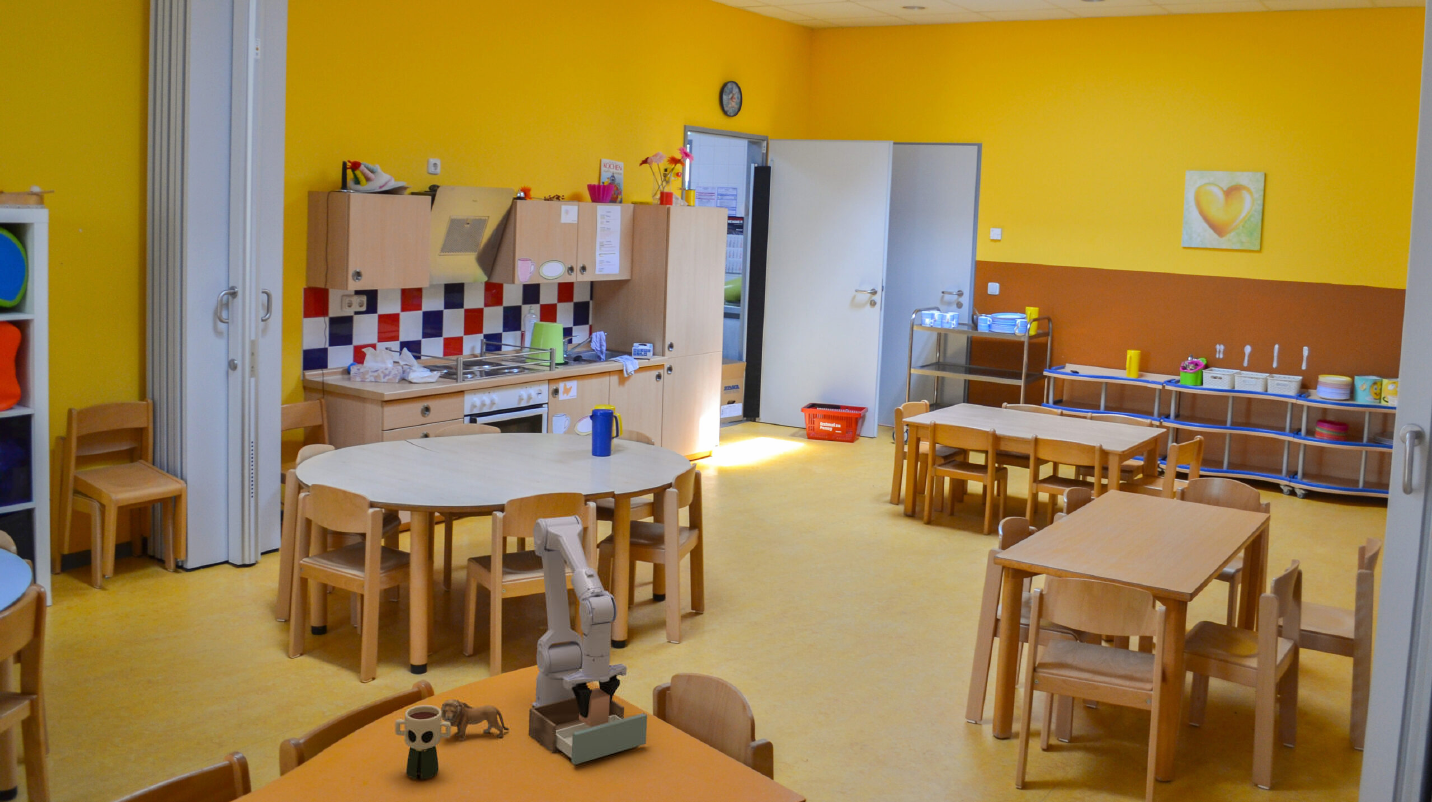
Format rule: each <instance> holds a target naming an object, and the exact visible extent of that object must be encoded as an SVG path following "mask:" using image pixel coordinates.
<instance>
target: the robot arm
mask: <svg viewBox="0 0 1432 802" xmlns="http://www.w3.org/2000/svg"><path fill="white" fill-rule="evenodd" d="M532 535H533V547H534V551H535V555H536V556H538V557H541V562H542V570H543V572H542V573H543V581H544V593H545V595H544V596H545V602H546V603H545V606H546V617H547V628H548V629H547V631H546V632H545V633H544V634H543V635H542V636H541V637H540V638H539V639H538V641H537V643H536V644H537V645H536V647H537V649H536V650H537V651H536V665H537V668H538V671H539V672H538V673H537V676H536V679H535V680H536V681H535V686H536V687H535V702H532V706H533V707H537V706H541V705H545V704H549V703H553V702H557V701H561V700H565V699H569V698H573V697H576V700H577V704H578V708H579V713H580V715H581V716H582V717H584V718H587V717H588V712H589V700H590V696H591V693H592V690H591V688H589V685H588V684H589V683H595V682H598V685H599V687H598V688H599V689H601V690H602V691H604V692H605V693H607V694H608V695H610V702H609V706H610V703H611V700H613V699H614V698H613V697H614V695H615V693H616V691H617V690H618V688H619V687H620V685H621V680H620V679H619V678H618V676H622V677H625V676H627V673H628V672H627V670H628V667H627V666H626V665H625V664H623V663H618V664H611V665H610V663H611V661H610V660H611V659H610V658H611V638H612V623H614V622H615V621H616V619H617V616H618V608H617V607H618V606H617V603H616V600H615V597H614V595H613V594H611V593H609V591H608V590H605V588H604V587H603V584H602V582H601V580H600V577H599V575H598V573H597V570H595V569H594V568H592V567H589V564H588V561H587V558H586V555H585V552H584V548H583V546H582V543H583V536H584V525H583V521H582V519H581V518H580V517H579V516H578V515H577V514H576V515H575V514H574V515H573V514H572V515H571V516H560V517H548V518H542V517H541V518H537V519H536V521H535V523H534V526H533V529H532ZM565 562H566V564H567V566H568V567H569V570H570V571H571V573H572V576H571V578H570V579H571V580H570V583H571V586H572V588H573V590H574V593H575V595H576V597H577V600H578V603H579V608H578V610H579V612H578V613H579V617H580V628H581V631H582V632H583V633H582V635H583V636H581V635H580V633H577V632H576V631H575V630H573V629H572V628H571V619H570V608H569V607H570V605H569V599H568V598H569V597H568V587H567V575H566V564H565ZM553 644H554V645H553Z"/></svg>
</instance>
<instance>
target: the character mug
mask: <svg viewBox="0 0 1432 802" xmlns="http://www.w3.org/2000/svg"><path fill="white" fill-rule="evenodd" d="M442 720H443V719H442V712H441V708H440V707H438V706H435V705H430V704H421V705H420V704H419V705H416V706H412V707H410V708H408V709H407V710H406V711H405V714H404V719H401V718H400V719H396V720H395V726H394V728H395V729H394V731H395V732H394V734H395V735H397V736H404V742H405V745H406V746H407V747H409V750H408V755H407V756H408V757H407V762H406V776H408V777H409V778H412V779H417V775H420V779H421V780H425V779H429V778H432V777H434V776H436V775H437V774H438V773H439V759H438V750H437V747H436V746H438V744H439V743H441V740H442V739H443V738H446V739H448V738H451V735H452V726H451V724H450V722H445V721H442ZM401 725H404V730H401ZM442 727H445V732H442Z"/></svg>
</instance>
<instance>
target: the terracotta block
mask: <svg viewBox="0 0 1432 802" xmlns="http://www.w3.org/2000/svg"><path fill="white" fill-rule="evenodd" d="M590 689H591V688H590ZM591 690H592V693H591V696H590V700H589V712H588V717H587V718H584V717H582V716H581V715H580V713H579V720H581V721H582V722H584V723H585V724H587V725H588V726H589V727H593V726H597V725H600V724H604V723H608V722H609V702H610V695H608V694H607V693H605V692H604V691H602V690H601V689H600V688H599V687H597V688H596V687H595V688H593V689H591Z"/></svg>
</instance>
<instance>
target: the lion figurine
mask: <svg viewBox="0 0 1432 802" xmlns="http://www.w3.org/2000/svg"><path fill="white" fill-rule="evenodd" d="M440 710H441V712H442V720H443V722H450V724H451V727H456V729H457V730H456V732H455V733H454V737H459V738H458V739H457V740H458V741H459V742H463V741H465V740H466V737H467V735H466V732H467V731H466V730H467V727H468V726H469V725H472V726H473V725H478V724H481V723H483V722H484V721H486V722H487V724H488V725H487V728H484V729H483V733H484V734H485V733H486V734H488V733H489V732H490V731H492V729H495V730H497V731H498V732H499V733H497V734H496V737H497V738H498V739H502V738H503V737H504V731H506V732H507V731H510V728H508V727H506V725H505V724H504V718H503V715H502V713H501V711H500V710H499V709H498V708H497V707H496V706H495V705H491V704H487V705H486V704H485V705H482V706H476V707H472V706H471V705H468V704H467V703H466V702H462V701H459V700H458V699H453V698H451V699H446V700H445V701H444V702H443V703H442V704H441V708H440ZM498 719H499V720H498ZM499 722H500V723H499Z"/></svg>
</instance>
